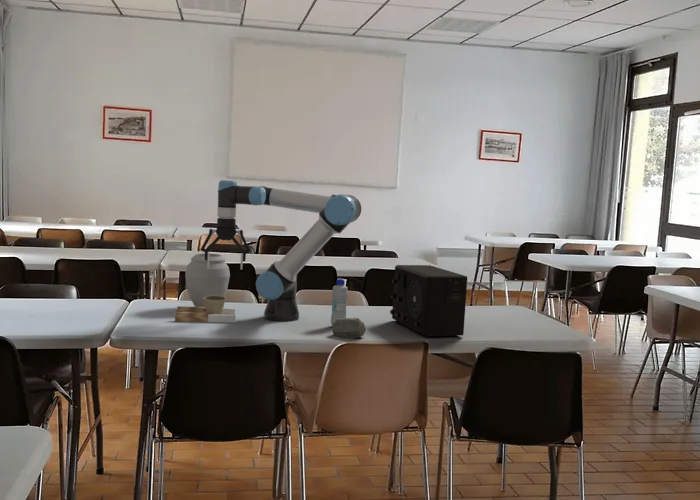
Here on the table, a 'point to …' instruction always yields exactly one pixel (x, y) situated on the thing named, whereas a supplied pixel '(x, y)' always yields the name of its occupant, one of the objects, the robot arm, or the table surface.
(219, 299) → the flower pot
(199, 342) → the table surface
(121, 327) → the table surface
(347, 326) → the stone
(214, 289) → the vase
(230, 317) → the bay
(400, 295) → the vintage radio
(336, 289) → the bottle
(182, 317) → the flat square wooden block
